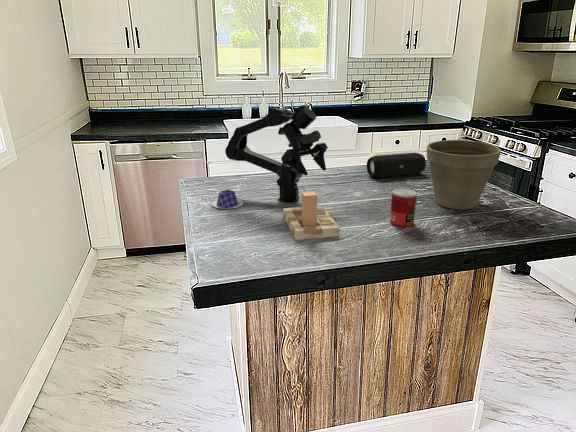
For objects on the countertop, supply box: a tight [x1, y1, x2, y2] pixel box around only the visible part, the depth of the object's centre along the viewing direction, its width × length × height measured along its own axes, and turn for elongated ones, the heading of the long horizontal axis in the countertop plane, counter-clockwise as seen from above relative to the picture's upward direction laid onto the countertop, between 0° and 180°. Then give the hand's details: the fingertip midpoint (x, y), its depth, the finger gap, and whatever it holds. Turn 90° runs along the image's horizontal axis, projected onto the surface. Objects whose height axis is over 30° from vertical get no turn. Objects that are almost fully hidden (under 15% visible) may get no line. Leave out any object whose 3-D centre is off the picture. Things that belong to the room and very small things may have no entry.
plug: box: [301, 190, 318, 227], centre depth 141 cm, size 4×4×13 cm
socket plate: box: [282, 205, 341, 241], centre depth 147 cm, size 20×14×3 cm
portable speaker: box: [366, 152, 427, 179], centre depth 202 cm, size 26×10×10 cm, turn 106°
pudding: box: [211, 189, 244, 210], centre depth 168 cm, size 12×12×5 cm
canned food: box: [389, 188, 418, 228], centre depth 148 cm, size 8×8×11 cm
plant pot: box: [426, 139, 502, 210], centre depth 164 cm, size 25×25×22 cm
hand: (316, 172), depth 159 cm, fingers open, 9 cm apart
